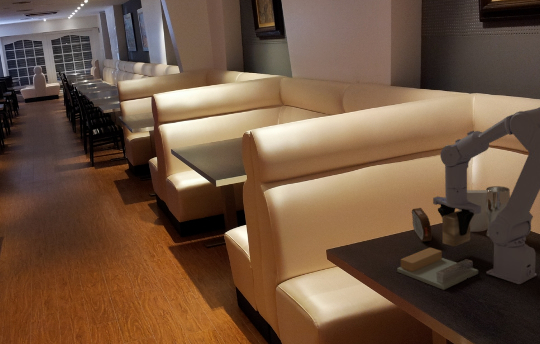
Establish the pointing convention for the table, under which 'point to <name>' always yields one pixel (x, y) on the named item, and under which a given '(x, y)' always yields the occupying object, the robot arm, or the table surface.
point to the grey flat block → (442, 273)
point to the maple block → (453, 230)
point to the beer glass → (495, 202)
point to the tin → (421, 224)
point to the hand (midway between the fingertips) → (456, 232)
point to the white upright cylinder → (479, 220)
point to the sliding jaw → (421, 259)
